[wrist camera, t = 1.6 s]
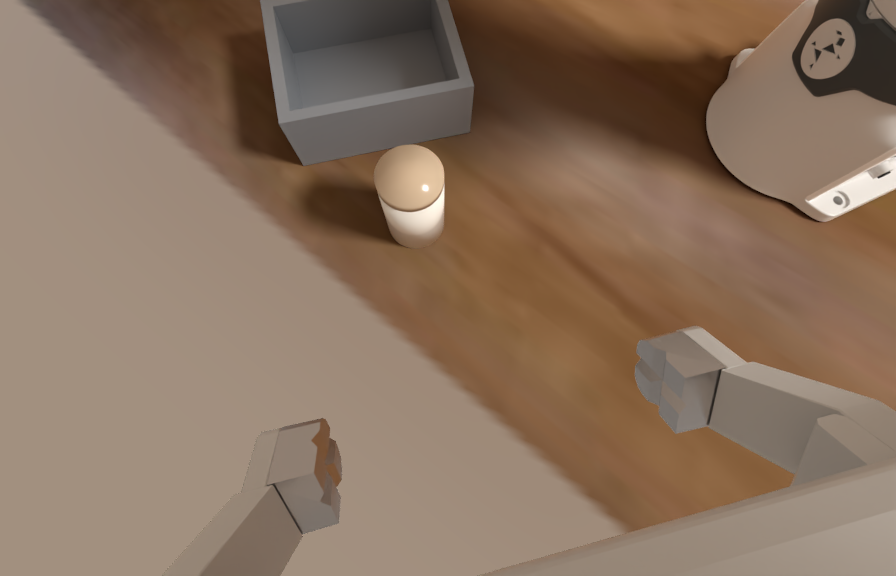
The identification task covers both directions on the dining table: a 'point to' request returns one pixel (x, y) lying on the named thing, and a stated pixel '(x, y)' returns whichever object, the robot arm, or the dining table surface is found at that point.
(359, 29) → the tote
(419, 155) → the jar
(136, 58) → the dining table surface
